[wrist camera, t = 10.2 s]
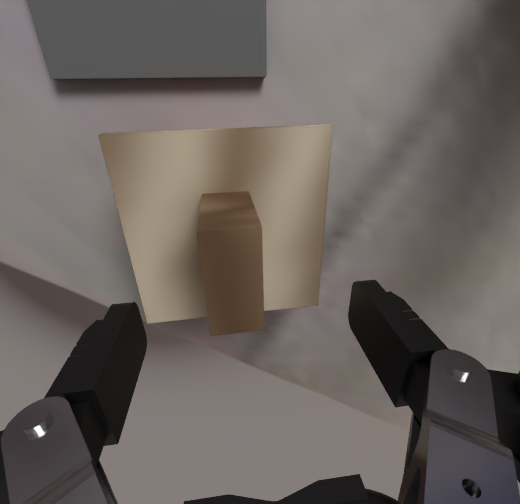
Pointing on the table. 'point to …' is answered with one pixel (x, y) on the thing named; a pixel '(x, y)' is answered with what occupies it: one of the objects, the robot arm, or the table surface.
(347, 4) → the table surface
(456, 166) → the table surface
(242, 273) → the lid
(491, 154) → the table surface
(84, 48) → the mat
